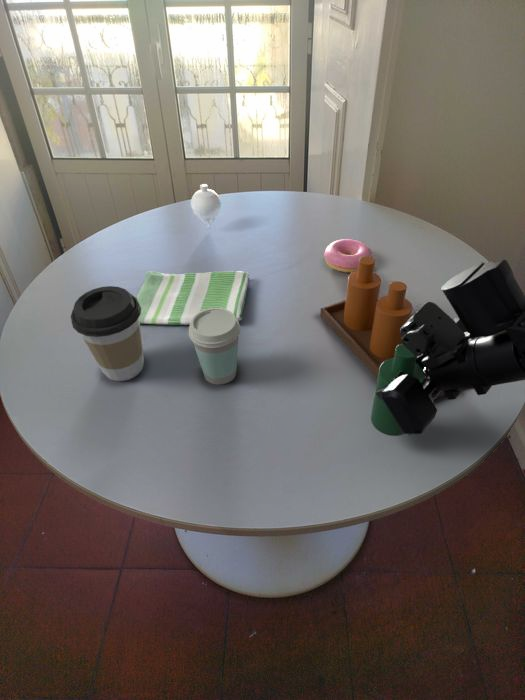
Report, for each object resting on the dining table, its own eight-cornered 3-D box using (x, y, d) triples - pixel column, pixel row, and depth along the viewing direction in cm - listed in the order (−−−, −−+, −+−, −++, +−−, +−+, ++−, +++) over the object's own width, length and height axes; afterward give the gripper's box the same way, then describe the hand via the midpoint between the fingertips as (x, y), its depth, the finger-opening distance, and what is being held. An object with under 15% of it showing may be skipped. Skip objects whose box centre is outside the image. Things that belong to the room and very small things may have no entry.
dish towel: (149, 277, 108) (147, 267, 106) (250, 278, 106) (249, 268, 105) (127, 326, 95) (124, 315, 93) (241, 329, 93) (240, 318, 91)
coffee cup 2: (227, 350, 89) (221, 299, 81) (253, 376, 83) (249, 324, 75) (187, 370, 85) (177, 318, 77) (212, 398, 80) (203, 345, 72)
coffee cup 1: (114, 341, 92) (93, 277, 82) (166, 354, 89) (150, 288, 78) (79, 381, 84) (51, 316, 74) (134, 396, 81) (112, 330, 71)
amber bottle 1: (379, 319, 93) (390, 258, 84) (364, 335, 90) (373, 273, 81) (354, 308, 96) (361, 248, 87) (337, 322, 93) (343, 262, 84)
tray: (460, 388, 80) (463, 380, 78) (406, 411, 76) (409, 402, 75) (366, 300, 99) (367, 292, 98) (320, 315, 96) (320, 307, 94)
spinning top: (194, 223, 127) (188, 180, 119) (222, 221, 127) (218, 177, 119) (194, 237, 121) (188, 192, 113) (223, 235, 122) (219, 190, 114)
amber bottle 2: (408, 346, 87) (423, 284, 78) (392, 364, 84) (406, 301, 74) (379, 333, 90) (390, 271, 81) (363, 350, 87) (372, 287, 77)
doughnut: (315, 256, 112) (316, 241, 110) (356, 246, 115) (358, 231, 112) (337, 280, 105) (338, 264, 102) (379, 269, 108) (382, 253, 105)
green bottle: (420, 422, 69) (440, 352, 60) (393, 443, 67) (410, 373, 57) (389, 398, 73) (403, 329, 64) (362, 417, 70) (373, 348, 61)
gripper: (488, 264, 57) (394, 303, 70) (411, 342, 47) (318, 371, 60) (533, 341, 58) (433, 365, 71) (467, 432, 48) (364, 441, 61)
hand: (390, 382), depth 66 cm, fingers closed on green bottle, 6 cm apart
